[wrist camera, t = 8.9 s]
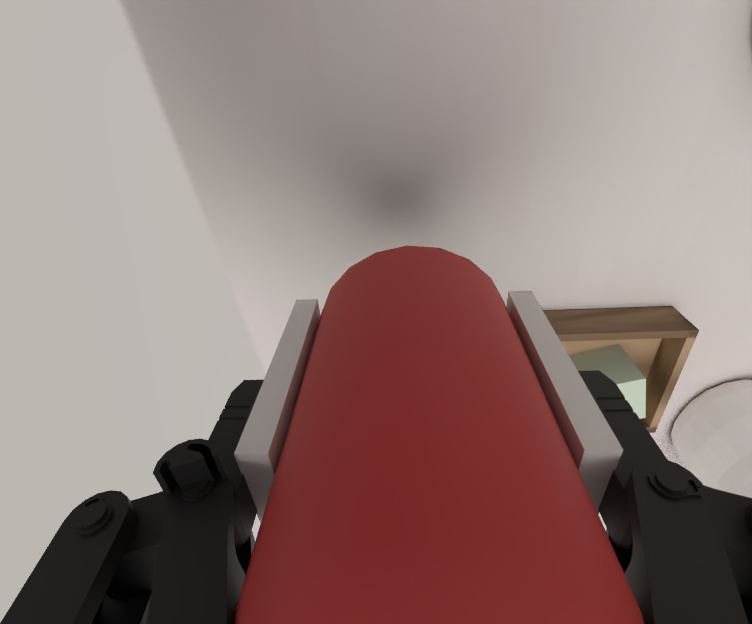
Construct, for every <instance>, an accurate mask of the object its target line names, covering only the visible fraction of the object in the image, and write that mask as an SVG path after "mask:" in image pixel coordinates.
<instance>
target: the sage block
mask: <svg viewBox="0 0 752 624" xmlns="http://www.w3.org/2000/svg"><path fill="white" fill-rule="evenodd" d="M569 357H570V359H571V360H572V362H573V364H574V366H575V367H576V369H577V371H594V370H599V371H601V372H602V373H603V374H605V375H606V376H607V377H608V378H610V379H611V380H612V381H614V382H615V383H616V385H617V386H618V388H619V389H620V391H621V392H622V393H623V395H624V396H625V400H627V401H628V402H629V404H630V405H631V407H632V408H633V412H635V413H636V414H637V416H638V417H639V419H642V418H646V378H645V377H644V375H643V374H642V373H641V372H640V370H639V369H638V368H637V366H636V365H635V364H634V363H633V361H632V360H631V359H630V358H629V356H628V355H627V354H626V352H625V351H624V350H623V349H622V347H621V346H620V345H619V344H616V345H611V346H607V347H602V348H598V349H593V350H589V351H584V352H580V353H575V354H571V355H569Z"/></svg>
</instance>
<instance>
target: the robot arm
mask: <svg viewBox="0 0 752 624" xmlns="http://www.w3.org/2000/svg"><path fill="white" fill-rule="evenodd" d="M507 310H508V313H509V315H510V317H511V319H512V322H513V324H514V326H515V328H516V331H517V333H518V335H519V337H520V340H521V342H522V344H523V346H524V349H525V351H526V353H527V355H528V358H529V360H530V362H531V364H532V367H533V369H534V371H535V373H536V376H537V378H538V380H539V382H540V385H541V387H542V389H543V391H544V394H545V396H546V398H547V400H548V403H549V405H550V407H551V409H552V412H553V414H554V416H555V418H556V421H557V423H558V425H559V428H560V430H561V432H562V434H563V437H564V439H565V441H566V443H567V446H568V448H569V450H570V452H571V455H572V457H573V459H574V461H575V464H576V466H577V468H578V470H579V473H580V475H581V477H582V479H583V482H584V484H585V486H586V488H587V491H588V493H589V495H590V497H591V500H592V502H593V504H594V506H595V509H596V511H597V513H598V514H599V512H600V514H601V516H602V518H603V521H604V523H605V525H606V527H607V530H606V533H607V536H608V538H609V540H610V542H611V545H612V547H613V549H614V552H615V554H616V556H617V558H618V561H619V563H620V565H621V567H622V570H623V572H624V574H625V576H626V579H627V581H628V583H629V585H630V588H631V590H632V592H633V594H634V597H635V599H636V601H637V603H638V606H639V608H640V610H641V612H642V615H643V619H644V623H645V624H752V498H749V497H745V496H741V495H737V494H733V493H729V492H725V491H721V490H717V489H714V488H711V487H708V486H705V485H703V484H702V482H701V481H700V480H699V479H698V478H697V477H695V476H694V475H693V474H692V473H691V472H690V471H688V470H687V469H685V468H683V467H682V466H680V465H679V464H677V463H674V462H671V461H668V460H667V458H666V457H665V456H664V454H663V453H662V451H661V450H660V448H659V447H658V445H657V444H656V442H655V441H654V439H653V438H652V437H651V435H650V434H649V432H648V431H647V429H646V428H645V426H644V425H643V423H642V422H641V420H640V419H639V417H638V416H637V414H636V413H635V412H633V408H632V407H631V405H630V404H629V402H628V401H627V400H625V396H624V395H623V393H622V392H621V391H620V389H619V388H618V386H617V385H616V383H615V382H614V381H612V380H611V379H610V378H608V377H607V376H606V375H605V374H603V373H602V372H601V371H599V370H594V371H577V369H576V367H575V366H574V364H573V362H572V360H571V359H570V357H569V355H568V354H567V352H566V350H565V348H564V347H563V345H562V343H561V341H560V340H559V338H558V336H557V335H556V333H555V331H554V329H553V328H552V326H551V324H550V322H549V321H548V319H547V317H546V316H545V314H544V312H543V310H542V309H541V307H540V305H539V303H538V302H537V300H536V298H535V297H534V295H533V293H532V291H516V292H508V300H507ZM320 317H321V316H320V310H319V305H318V299H310V300H296V303H295V305H294V307H293V310H292V312H291V315H290V317H289V320H288V322H287V325H286V327H285V330H284V332H283V335H282V337H281V339H280V342H279V344H278V347H277V349H276V352H275V354H274V357H273V359H272V362H271V364H270V366H269V369H268V371H267V374H266V376H265V379H264V380H244V381H243V382H242V383H241V384H240V385H239V386H238V387H237V388H236V389H235V390H234V391H233V392H232V393H231V395H230V397H229V399H228V401H227V403H226V405H225V409H223V411H222V413H221V415H220V417H219V421H217V423H216V426H215V427H214V429H213V431H212V434H211V436H210V438H209V440H203V439H194V440H188V441H186V442H183V443H181V444H178V445H176V446H175V447H173V448H172V449H171V450H169V451H168V452H166V453H165V454H164V455H163V456H162V458H161V459H160V460H159V461H158V462H157V464H156V467H155V469H154V471H153V474H154V475H155V477H156V479H157V481H158V482H159V484H160V486H161V488H162V489H163V491H162V492H159V493H156V494H153V495H149V496H146V497H142V498H139V499H136V500H132V501H130V500H129V499H128V497H127V496H126V495H124V494H123V493H122V492H121V491H106V492H103V493H98V494H96V495H94V496H93V497H90V498H89V499H87V500H85V501H84V502H82V503H81V504H80V505H79V506H77V507H76V508H75V509H74V510H72V512H71V513H70V514H69V515H68V517H67V518H66V519H65V520H64V522H63V523H62V525H61V526H60V528H59V530H58V531H57V533H56V534H55V536H54V538H53V539H52V541H51V543H50V544H49V546H48V547H47V549H46V551H45V552H44V554H43V556H42V557H41V559H40V560H39V562H38V563H37V565H36V567H35V568H34V570H33V572H32V573H31V575H30V576H29V578H28V580H27V581H26V583H25V584H24V587H23V588H22V589H21V591H20V593H19V594H18V596H17V597H16V599H15V601H14V602H13V604H12V606H11V607H10V609H9V610H8V612H7V613H6V615H5V617H4V618H3V620H2V621H1V623H0V624H234V619H235V611H236V607H237V604H238V601H239V597H240V594H241V590H242V587H243V583H244V580H245V576H246V573H247V569H248V566H249V563H250V559H251V556H252V552H253V549H254V545H255V540H254V536H253V533H252V527H253V523H254V520H255V516H256V513H257V515H258V518H259V520H260V523H261V521H262V518H263V514H264V511H265V507H266V504H267V500H268V497H269V493H270V490H271V486H272V483H273V480H274V476H275V473H276V469H277V466H278V462H279V459H280V455H281V452H282V448H283V445H284V442H285V438H286V435H287V431H288V428H289V424H290V421H291V417H292V414H293V410H294V407H295V404H296V400H297V397H298V393H299V390H300V386H301V383H302V379H303V376H304V372H305V369H306V365H307V362H308V359H309V355H310V352H311V348H312V345H313V341H314V338H315V334H316V331H317V327H318V324H319V321H320Z"/></svg>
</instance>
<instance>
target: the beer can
mask: <svg viewBox="0 0 752 624" xmlns="http://www.w3.org/2000/svg"><path fill="white" fill-rule="evenodd" d="M234 624H645V623H644V619H643V615H642V612H641V610H640V608H639V606H638V603H637V601H636V599H635V597H634V594H633V592H632V590H631V588H630V585H629V583H628V581H627V579H626V576H625V574H624V572H623V570H622V567H621V565H620V563H619V561H618V558H617V556H616V554H615V552H614V549H613V547H612V545H611V542H610V540H609V538H608V536H607V533H606V531H605V529H604V527H603V524H602V522H601V520H600V518H599V515H598V513H597V511H596V509H595V506H594V504H593V502H592V500H591V497H590V495H589V493H588V491H587V488H586V486H585V484H584V482H583V479H582V477H581V475H580V473H579V470H578V468H577V466H576V464H575V461H574V459H573V457H572V455H571V452H570V450H569V448H568V446H567V443H566V441H565V439H564V437H563V434H562V432H561V430H560V428H559V425H558V423H557V421H556V418H555V416H554V414H553V412H552V409H551V407H550V405H549V403H548V400H547V398H546V396H545V394H544V391H543V389H542V387H541V385H540V382H539V380H538V378H537V376H536V373H535V371H534V369H533V367H532V364H531V362H530V360H529V358H528V355H527V353H526V351H525V349H524V346H523V344H522V342H521V340H520V337H519V335H518V333H517V331H516V328H515V326H514V324H513V322H512V319H511V317H510V315H509V313H508V310H507V308H506V306H505V304H504V301H503V299H502V298H501V296H500V294H499V292H498V290H497V288H496V287H495V285H494V283H493V281H492V279H491V278H490V277H489V276H488V275H487V274H485V273H484V272H483V271H482V270H481V269H480V268H478V267H477V266H476V265H475V264H474V263H473V262H471V261H470V260H469V259H466V258H464V257H461V256H459V255H456V254H454V253H451V252H449V251H446V250H444V249H441V248H432V247H419V246H404V247H399V248H395V249H390V250H386V251H381V252H377V253H374V254H373V255H371V256H369V257H367V258H366V259H364V260H362V261H360V262H359V263H357V264H355V265H353V266H352V267H350V268H349V269H348V270H347V271H346V272H345V273H344V274H343V276H342V277H341V278H340V279H339V280H338V281H337V282H336V283H335V285H334V286H333V287H332V288H331V290H330V292H329V295H328V298H327V300H326V303H325V305H324V308H323V311H322V314H321V317H320V321H319V324H318V327H317V331H316V334H315V338H314V341H313V345H312V348H311V352H310V355H309V359H308V362H307V365H306V369H305V372H304V376H303V379H302V383H301V386H300V390H299V393H298V397H297V400H296V404H295V407H294V410H293V414H292V417H291V421H290V424H289V428H288V431H287V435H286V438H285V442H284V445H283V448H282V452H281V455H280V459H279V462H278V466H277V469H276V473H275V476H274V480H273V483H272V486H271V490H270V493H269V497H268V500H267V504H266V507H265V511H264V514H263V518H262V521H261V525H260V528H259V532H258V535H257V538H256V542H255V545H254V549H253V552H252V556H251V559H250V563H249V566H248V569H247V573H246V576H245V580H244V583H243V587H242V590H241V594H240V597H239V601H238V604H237V607H236V611H235V619H234Z"/></svg>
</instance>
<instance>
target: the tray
mask: <svg viewBox="0 0 752 624" xmlns="http://www.w3.org/2000/svg"><path fill="white" fill-rule="evenodd" d="M543 312H544V314H545V316H546V317H547V319H548V321H549V322H550V324H551V326H552V328H553V329H554V331H555V333H556V335H557V336H558V338H559V340H560V341H561V343H562V345H563V347H564V348H565V350H566V352H567V354H568V355H571V354H575V353H580V352H584V351H589V350H593V349H598V348H602V347H607V346H611V345H616V344H619V345H620V346H621V347H622V349H623V350H624V351H625V352H626V354H627V355H628V356H629V358H630V359H631V360H632V361H633V363H634V364H635V365H636V366H637V368H638V369H639V370H640V372H641V373H642V374H643V375H644V377H645V378H646V418H642V419H640V420H641V422H642V423H643V425H644V426H645V428H646V429H647V431H648V432H649V433H650V432H655V431H656V429H657V427H658V424H659V422H660V420H661V417H662V415H663V413H664V410H665V408H666V406H667V403H668V401H669V399H670V397H671V394H672V392H673V390H674V387H675V385H676V383H677V380H678V378H679V376H680V373H681V371H682V369H683V366H684V364H685V362H686V360H687V357H688V355H689V353H690V350H691V348H692V346H693V343H694V341H695V339H696V336H697V334H698V332H699V330H698V329H697V328H696V327H695V326H694V325H693V324H692V323H690V322H689V321H688V320H687V319H686V318H685V317H684V316H683V315H681V314H680V313H679V312H678V311H677V310H676V309H675V308H674V307H672V306H661V307H633V308H605V309H577V310H549V311H543Z"/></svg>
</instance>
